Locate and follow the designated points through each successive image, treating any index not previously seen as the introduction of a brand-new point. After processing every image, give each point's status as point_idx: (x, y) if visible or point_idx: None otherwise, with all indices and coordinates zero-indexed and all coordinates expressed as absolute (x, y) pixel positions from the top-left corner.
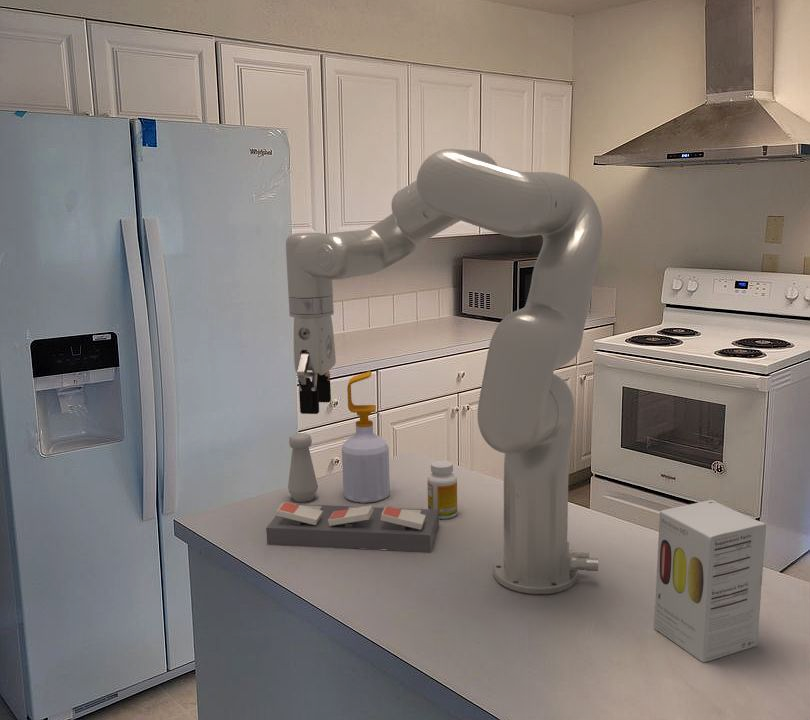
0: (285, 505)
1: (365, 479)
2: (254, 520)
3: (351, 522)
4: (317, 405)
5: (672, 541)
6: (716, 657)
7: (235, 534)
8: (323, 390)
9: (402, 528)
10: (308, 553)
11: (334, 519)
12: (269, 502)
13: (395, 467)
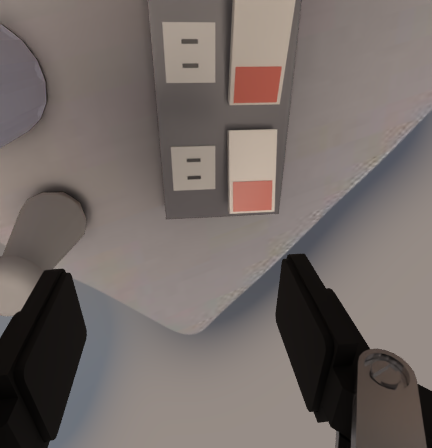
0: (249, 205)
1: (14, 74)
2: (180, 251)
3: None
4: (316, 279)
5: None
6: None
7: (236, 256)
8: (56, 343)
9: None
10: (304, 123)
11: (281, 89)
12: (99, 257)
13: None
